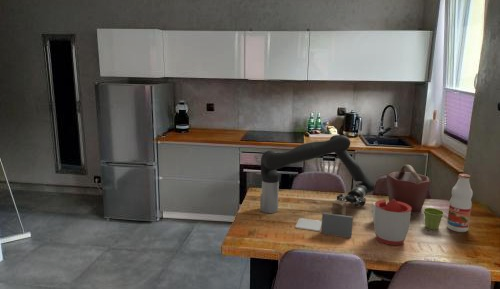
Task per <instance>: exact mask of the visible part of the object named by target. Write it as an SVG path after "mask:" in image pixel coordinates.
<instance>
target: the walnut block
mask: <svg viewBox="0 0 500 289" xmlns="http://www.w3.org/2000/svg"><path fill="white" fill-rule="evenodd" d="M345 201H346V200H345ZM345 201H340V200H337V199H335V200H334V201H333V202H332V205H331V206H332V207H331V214H338V215H345V216H346V210H347V208H346V207H347V202H345Z"/></svg>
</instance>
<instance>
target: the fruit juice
mask: <svg viewBox="0 0 500 289" xmlns="http://www.w3.org/2000/svg"><path fill="white" fill-rule="evenodd" d="M470 178H471V175H470V174H467V173H459V174H458V179H457V182H456V183H455V185H454V186H453V187H452V189H451V198H450V200H449V206H448V213H447V219H446V220H447V222H446V226H447V227H446V228H448V229H449V230H451V231H454V232H458V233H466V232H468V231H469V227H470V226H469V225H470V220H471V211H472V198H473V195H474V192H473V190H472V187H471V183H470Z"/></svg>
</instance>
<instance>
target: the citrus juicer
mask: <svg viewBox="0 0 500 289" xmlns="http://www.w3.org/2000/svg"><path fill="white" fill-rule="evenodd" d="M375 202H376V203H375V205H376V207H375V218H374V223H373V225H374V226H373V228H374V232H375V234H374V235H375V237H376V239H377V240H378V241H379V242H381V243H382V244H386V245H390V246H391V245H392V246H400V245H402V244H404V242H405V240H406V239H407V238H406V237H407V236H408V233H409V228H410V222H411V214H412V213H411V210H412V208H411V206H410V205H408V204H406V203H403V202H400V201H396V200H395V199H392V200H391V201H389V200H388V202H387V201H386V200H385V199H380V200H377V201H375ZM386 203H387V204H386Z"/></svg>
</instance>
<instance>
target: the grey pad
mask: <svg viewBox="0 0 500 289" xmlns="http://www.w3.org/2000/svg"><path fill="white" fill-rule="evenodd" d="M294 228H295V229H301V230H307V231H314V232H320V233H321V228H322V220H316V219H309V218H305V217H304V218H303V217H299V219H298V220H297V222H296V224H295V226H294Z"/></svg>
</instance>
